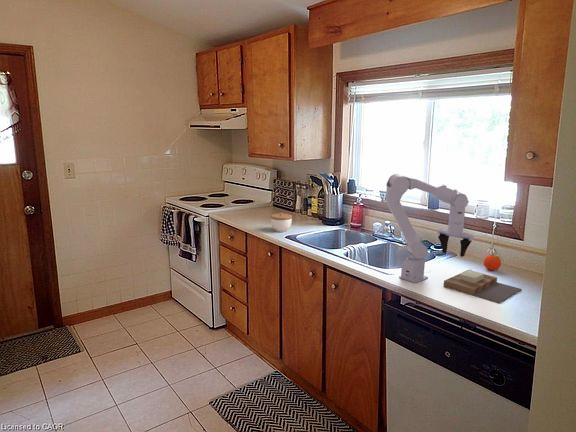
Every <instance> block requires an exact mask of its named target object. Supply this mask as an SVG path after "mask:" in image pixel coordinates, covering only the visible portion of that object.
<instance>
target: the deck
mask: <svg viewBox="0 0 576 432" xmlns="http://www.w3.org/2000/svg"><path fill="white" fill-rule="evenodd" d="M468 270H469V269H467V270H465V271H463V272H460V273H458V274H456V275H454V276H452V277H449V278H447V279H445V280H443V288H447V289H450V290H453V291H456V292H461V293H463V294H466V295H470V296H473V295H474V294H475V293H477V292H479V291H481V290H483V289H485V288H487V287H489V286H490V285H492V284H494V283H496V282H498V277H497V276H493V275H489V274H486V273H483V274H484V279H482V280H480V281H478V282H476V283H472V282H469V281H465V280H461V279H460V274H461V273H464V272H466V271H468Z"/></svg>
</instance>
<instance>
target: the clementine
mask: <svg viewBox="0 0 576 432" xmlns="http://www.w3.org/2000/svg"><path fill="white" fill-rule="evenodd" d="M501 260H502V261H504V259H503V258H502V257H501V256H498V255H495V254H489V255H486V257H485V258H484V260H483V265H484V267H485V268H486V269H487V270H488V271H491V272H493V271H498V270H499V269H500V268H501V266H502V261H501Z"/></svg>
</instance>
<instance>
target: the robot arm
mask: <svg viewBox="0 0 576 432" xmlns="http://www.w3.org/2000/svg"><path fill="white" fill-rule="evenodd" d="M414 189H416V190H420V191H422V192H425V193H429V194H431V195H432V196H433V199H436V200H438V201H440V202H443V203H445V204H449V213H448V224H447V229H442V228H439V229H437V233H436V234H437V235H438V237H437V238H438V240H439V243H440V244H441V245H440V246H441V249H442V253H447V251H448V243H449V238H450V237H453V238H458V239H460V253H459V254H460V255H459V256H460V258H463V257H465V256H466V252H467V249H468V247H469V246H470V244H471V243H472V242H473V241H474V237H475V235H473V234H469V233H466V232H464V226H465V225H464V224H465V215H466V214H465V213H466V207H467V206H468V204H469V202H470V200H469V199H468V196H467V195H466V194H465V193H462V192H459V191H458V190H457V189H452V188H450V187H447V185H445V184H442V185H441V184H439V185H436V186H434V185H432V184H430V183H426V182H425V181H422V180H419V179H417V178H414V177H412V176H407V175H401V174H399V173H393V174H392V175H390V176H389V178H388V180H387V182H386V192H385V202H386V204H387V206H388V208H389V210H390V212H391V215H392V216H393V218H394V220H395V222H396V224H397V226H398V228H399V230H400V232H401V233H402V236H403V237H404V241H405V247H406V250H407V252H408V253H407V254H406V258H405V260H403V261H402V263H401V274H400V276H399V277H398V278H399V279H402V280H405V281H408V282H412V283H414V284H415V283H418V282H421V281H423V280H426V279H428V278H429V276H427V275H425V267H426V265H425V264H426V257H427V255H428V253H429V252H428V251H429V250H428V247H427V246H426V245H425V244H423V242H422V241H421V239H420V238H419V236H418V235H417V233H416V231H415V229H414V226H413V225H412V223H411V221H410V219H409V217H408V215H407V213H406V211H405V210H404V207H403V205H402V203H401V199H402V197H403V195H404V194H405V193H407V191H408V190H409V191H410V190H414Z"/></svg>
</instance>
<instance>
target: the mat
mask: <svg viewBox="0 0 576 432" xmlns="http://www.w3.org/2000/svg"><path fill="white" fill-rule="evenodd" d="M522 290H523V289H522V288H520V287H516V286H513V285H508V284H505V283H501V282H498V281H497V282H496V283H494V284H492V285H490V286H489V287H487V288H485V289H483V290H481V291H479V292H477V293H475V294H474V295H472V296H474V297H477V298H481V299H483V300H486V301H490V302H493V303H496V304H501V303H503V302H505V301H507V300H509V299H510V298H511V297H513V296H515V295H516V294H518V293H519V292H521V291H522Z"/></svg>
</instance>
